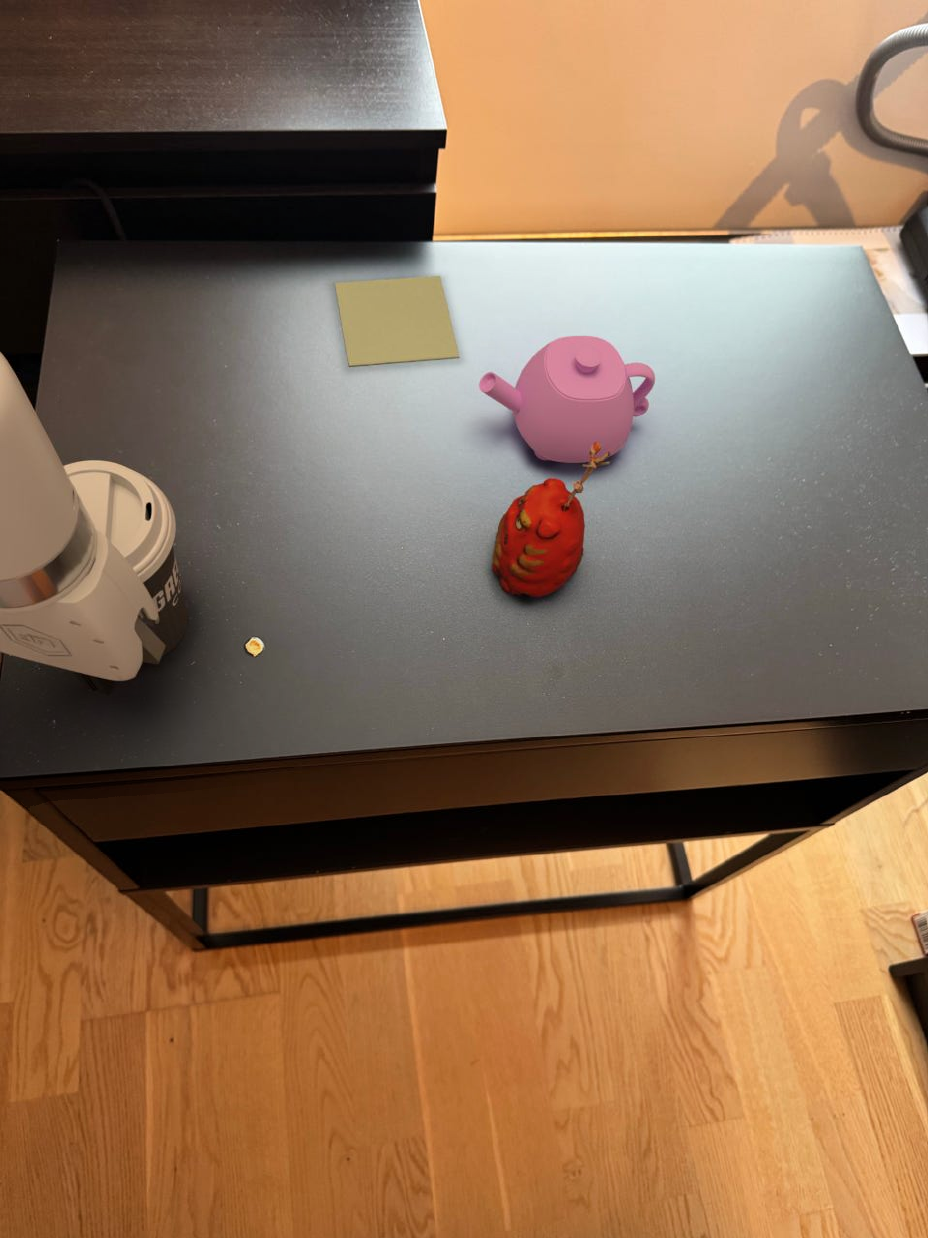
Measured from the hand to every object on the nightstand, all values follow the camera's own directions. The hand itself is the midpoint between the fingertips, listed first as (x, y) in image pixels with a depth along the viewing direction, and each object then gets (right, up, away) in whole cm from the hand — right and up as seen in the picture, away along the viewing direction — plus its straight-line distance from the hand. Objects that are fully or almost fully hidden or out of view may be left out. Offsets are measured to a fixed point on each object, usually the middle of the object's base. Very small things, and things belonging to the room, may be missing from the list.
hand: (108, 673), depth 63 cm
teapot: (+33, +20, +17) cm, 42 cm away
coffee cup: (+1, +3, +5) cm, 6 cm away
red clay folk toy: (+30, +8, +10) cm, 33 cm away
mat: (+19, +31, +20) cm, 42 cm away
